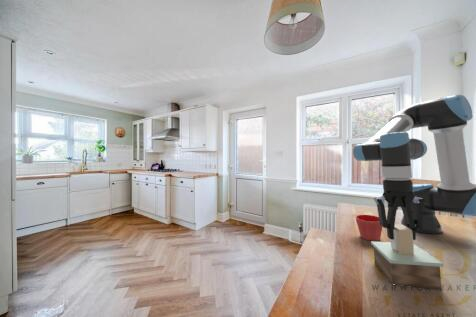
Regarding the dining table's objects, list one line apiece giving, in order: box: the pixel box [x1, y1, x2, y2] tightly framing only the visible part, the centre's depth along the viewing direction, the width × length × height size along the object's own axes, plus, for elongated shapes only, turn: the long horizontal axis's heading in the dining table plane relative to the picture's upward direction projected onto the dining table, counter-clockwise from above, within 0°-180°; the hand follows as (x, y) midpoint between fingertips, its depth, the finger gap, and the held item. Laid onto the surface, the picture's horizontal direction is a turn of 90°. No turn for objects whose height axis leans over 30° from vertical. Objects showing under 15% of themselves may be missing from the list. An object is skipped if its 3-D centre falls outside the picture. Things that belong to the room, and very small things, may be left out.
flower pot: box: [355, 214, 383, 242], centre depth 89 cm, size 11×11×10 cm
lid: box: [370, 223, 444, 268], centre depth 61 cm, size 13×13×10 cm
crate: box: [372, 245, 442, 291], centre depth 61 cm, size 12×12×7 cm
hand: (402, 248), depth 61 cm, fingers closed on lid, 3 cm apart
